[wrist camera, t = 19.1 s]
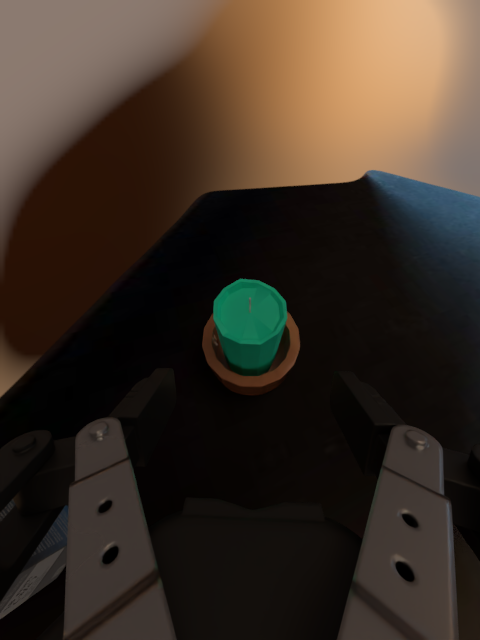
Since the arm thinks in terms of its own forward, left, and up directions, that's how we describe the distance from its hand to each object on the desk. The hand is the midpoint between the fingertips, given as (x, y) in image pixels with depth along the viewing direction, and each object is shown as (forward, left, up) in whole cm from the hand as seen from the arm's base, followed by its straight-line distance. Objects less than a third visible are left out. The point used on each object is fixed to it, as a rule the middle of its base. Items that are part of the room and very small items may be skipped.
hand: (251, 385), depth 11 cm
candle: (-5, -5, -15) cm, 16 cm away
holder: (-5, -5, -15) cm, 16 cm away
